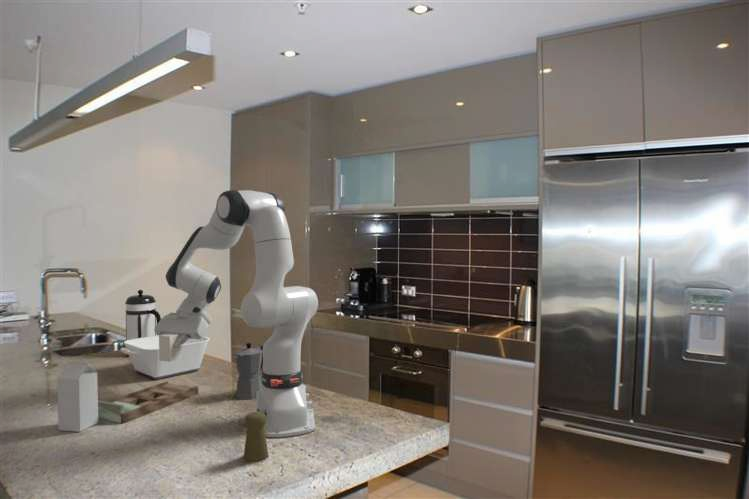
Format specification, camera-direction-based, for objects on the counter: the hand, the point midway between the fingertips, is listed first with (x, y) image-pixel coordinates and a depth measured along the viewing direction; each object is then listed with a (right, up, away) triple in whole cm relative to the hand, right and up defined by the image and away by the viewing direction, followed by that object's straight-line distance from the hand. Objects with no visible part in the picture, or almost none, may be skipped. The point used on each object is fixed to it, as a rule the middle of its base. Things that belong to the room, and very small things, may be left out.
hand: (168, 346), depth 173 cm
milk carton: (-15, -18, -27) cm, 36 cm away
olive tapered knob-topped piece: (+41, -18, -48) cm, 65 cm away
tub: (-13, -16, +32) cm, 38 cm away
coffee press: (-36, -16, +61) cm, 73 cm away
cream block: (0, -4, +1) cm, 4 cm away
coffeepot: (+28, -17, +2) cm, 32 cm away
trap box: (-4, -17, -8) cm, 19 cm away
